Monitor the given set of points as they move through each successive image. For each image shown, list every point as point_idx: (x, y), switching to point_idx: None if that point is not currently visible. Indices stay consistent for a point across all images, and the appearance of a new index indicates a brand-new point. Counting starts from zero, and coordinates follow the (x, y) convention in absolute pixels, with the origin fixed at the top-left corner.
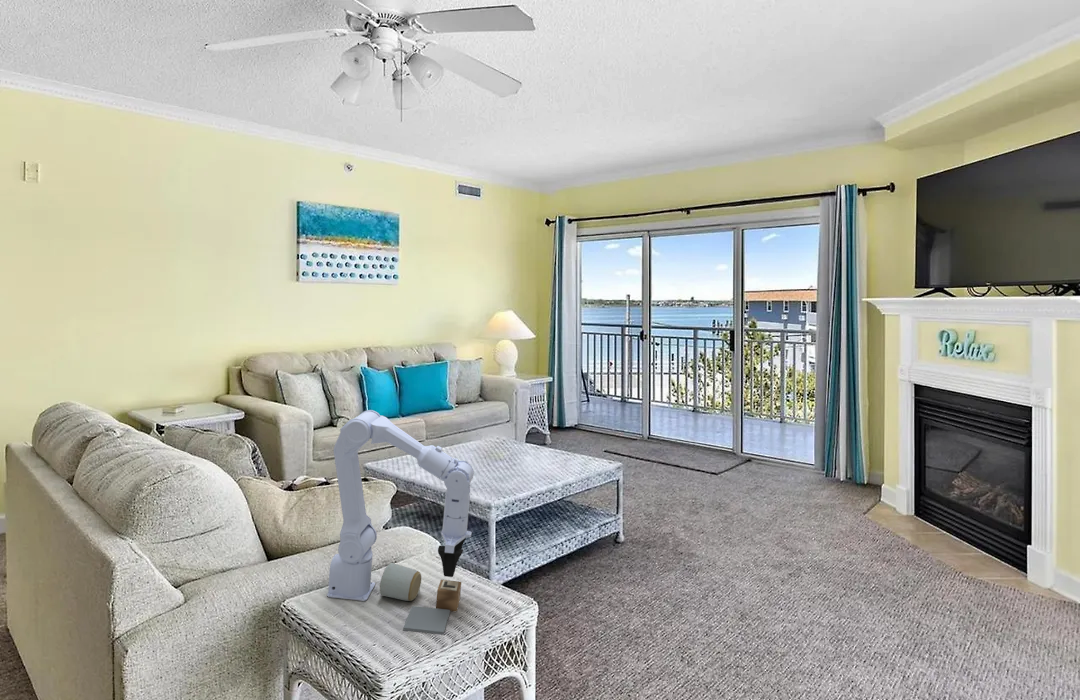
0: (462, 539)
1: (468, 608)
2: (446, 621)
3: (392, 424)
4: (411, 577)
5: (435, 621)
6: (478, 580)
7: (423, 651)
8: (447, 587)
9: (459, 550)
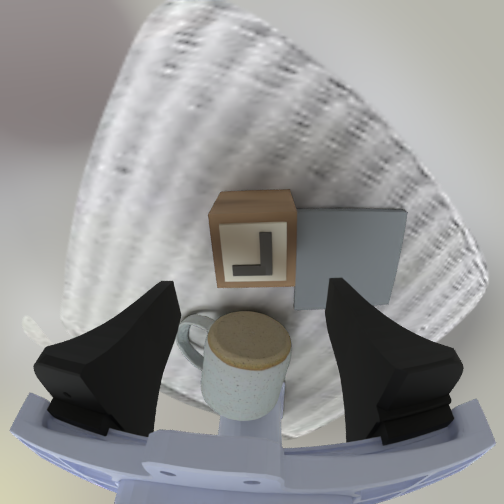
0: (360, 462)
1: (260, 155)
2: (361, 212)
3: None
4: (271, 370)
5: (363, 241)
6: (91, 164)
7: (454, 243)
8: (274, 258)
9: (420, 386)
